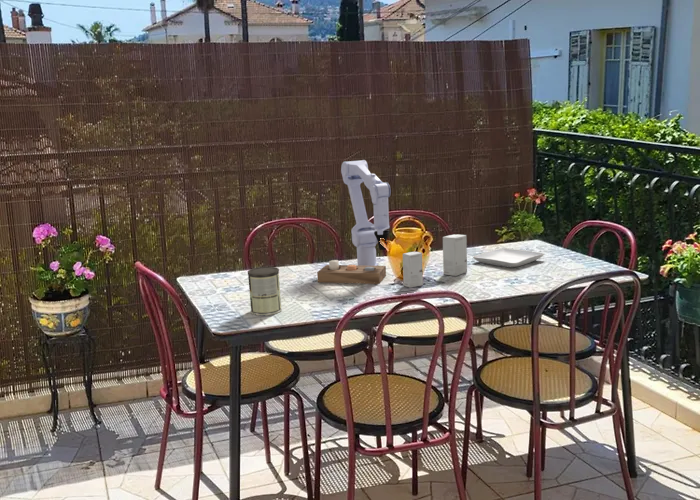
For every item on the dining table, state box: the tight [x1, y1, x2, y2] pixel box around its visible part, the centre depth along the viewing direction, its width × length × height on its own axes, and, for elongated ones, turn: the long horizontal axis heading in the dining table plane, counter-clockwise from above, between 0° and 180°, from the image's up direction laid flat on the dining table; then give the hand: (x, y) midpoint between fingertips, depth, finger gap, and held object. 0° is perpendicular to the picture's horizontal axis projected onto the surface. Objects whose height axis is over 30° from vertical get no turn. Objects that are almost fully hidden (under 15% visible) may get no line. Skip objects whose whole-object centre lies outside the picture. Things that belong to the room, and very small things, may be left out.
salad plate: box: [472, 247, 545, 268], centre depth 293 cm, size 21×21×3 cm
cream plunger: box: [328, 259, 340, 270], centre depth 278 cm, size 4×4×4 cm
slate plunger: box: [365, 267, 374, 271], centre depth 274 cm, size 4×4×4 cm
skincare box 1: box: [402, 251, 424, 289], centre depth 262 cm, size 6×4×12 cm
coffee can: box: [247, 266, 282, 316], centre depth 239 cm, size 10×10×14 cm
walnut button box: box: [316, 264, 387, 285], centre depth 276 cm, size 12×24×4 cm, turn 75°
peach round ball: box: [346, 264, 356, 270], centre depth 276 cm, size 4×4×4 cm
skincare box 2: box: [442, 233, 468, 277], centre depth 276 cm, size 8×6×15 cm
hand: (382, 249), depth 277 cm, fingers closed
